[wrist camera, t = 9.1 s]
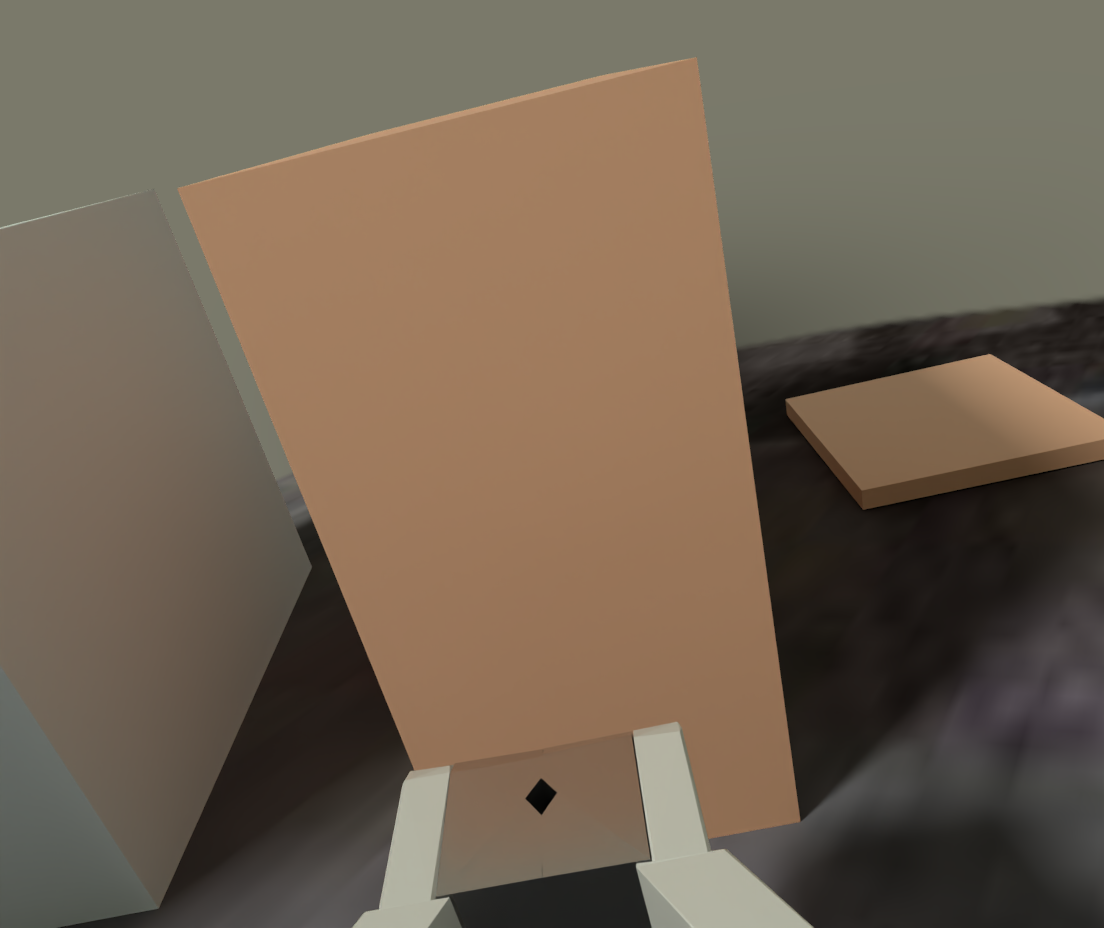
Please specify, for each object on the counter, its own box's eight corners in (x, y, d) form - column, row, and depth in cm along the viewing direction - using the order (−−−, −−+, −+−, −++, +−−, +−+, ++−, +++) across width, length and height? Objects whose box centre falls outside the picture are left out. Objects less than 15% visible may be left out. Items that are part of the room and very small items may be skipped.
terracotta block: (679, 499, 25) (602, 75, 20) (800, 822, 14) (696, 57, 9) (489, 540, 25) (366, 134, 20) (461, 885, 14) (176, 188, 9)
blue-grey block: (312, 567, 26) (154, 188, 21) (159, 909, 15) (-244, 292, 10) (138, 605, 26) (-58, 242, 21) (-133, 964, 16) (-656, 396, 11)
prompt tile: (989, 370, 28) (989, 353, 27) (1128, 454, 21) (1130, 433, 21) (787, 414, 28) (785, 399, 28) (863, 509, 22) (861, 490, 21)
